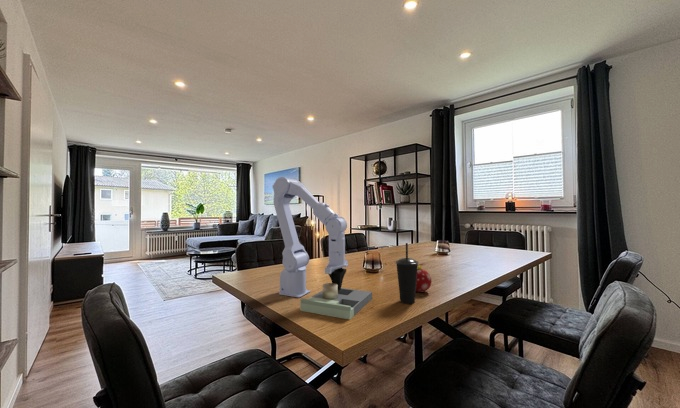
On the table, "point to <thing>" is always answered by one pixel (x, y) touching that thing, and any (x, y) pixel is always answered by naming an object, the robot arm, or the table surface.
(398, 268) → the drinking cup
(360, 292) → the trap deck
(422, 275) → the christmas ornament
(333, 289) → the beige rounded cylinder
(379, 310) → the table surface
